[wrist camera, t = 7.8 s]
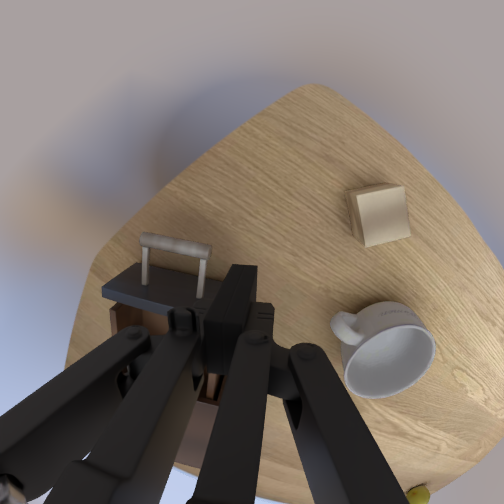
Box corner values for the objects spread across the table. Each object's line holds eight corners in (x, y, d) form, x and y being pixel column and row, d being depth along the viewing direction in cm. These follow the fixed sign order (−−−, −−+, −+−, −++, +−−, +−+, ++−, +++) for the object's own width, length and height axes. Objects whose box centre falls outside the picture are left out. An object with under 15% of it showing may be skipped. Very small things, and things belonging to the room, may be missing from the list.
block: (344, 191, 28) (356, 195, 23) (385, 182, 27) (404, 185, 22) (352, 235, 29) (365, 248, 24) (393, 226, 28) (411, 236, 24)
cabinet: (136, 329, 36) (103, 369, 27) (236, 355, 35) (222, 407, 26) (143, 405, 41) (123, 443, 32) (222, 428, 40) (211, 471, 31)
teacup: (423, 326, 31) (448, 360, 24) (362, 373, 34) (374, 414, 27) (370, 255, 30) (396, 282, 22) (300, 314, 32) (304, 355, 25)
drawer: (138, 217, 30) (100, 233, 23) (251, 238, 30) (241, 262, 22) (139, 363, 37) (116, 396, 29) (225, 387, 36) (214, 427, 29)
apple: (425, 482, 44) (432, 507, 35) (426, 481, 48) (433, 504, 39) (400, 493, 46) (407, 518, 37) (404, 492, 50) (410, 514, 41)
